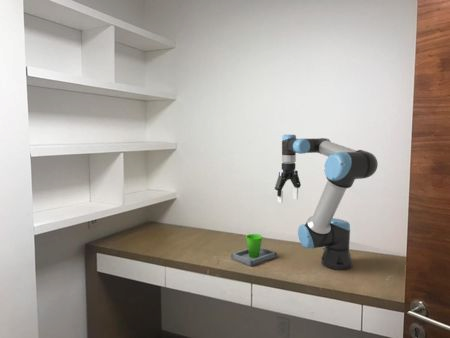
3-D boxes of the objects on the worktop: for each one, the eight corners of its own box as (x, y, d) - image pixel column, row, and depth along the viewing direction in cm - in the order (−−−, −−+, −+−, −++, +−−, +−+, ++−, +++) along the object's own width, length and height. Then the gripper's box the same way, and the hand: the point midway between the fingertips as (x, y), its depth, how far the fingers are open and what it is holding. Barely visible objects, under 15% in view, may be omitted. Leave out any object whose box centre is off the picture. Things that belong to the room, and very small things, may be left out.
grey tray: (276, 257, 192) (276, 252, 191) (251, 266, 179) (251, 261, 179) (256, 250, 202) (256, 245, 202) (231, 259, 190) (231, 253, 189)
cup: (261, 260, 185) (261, 239, 184) (244, 258, 187) (244, 238, 186) (263, 254, 194) (263, 234, 193) (246, 253, 196) (246, 233, 195)
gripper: (296, 160, 209) (296, 196, 211) (268, 163, 192) (267, 202, 194) (307, 161, 203) (306, 198, 205) (279, 164, 186) (278, 204, 189)
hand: (287, 200), depth 200 cm, fingers open, 13 cm apart
